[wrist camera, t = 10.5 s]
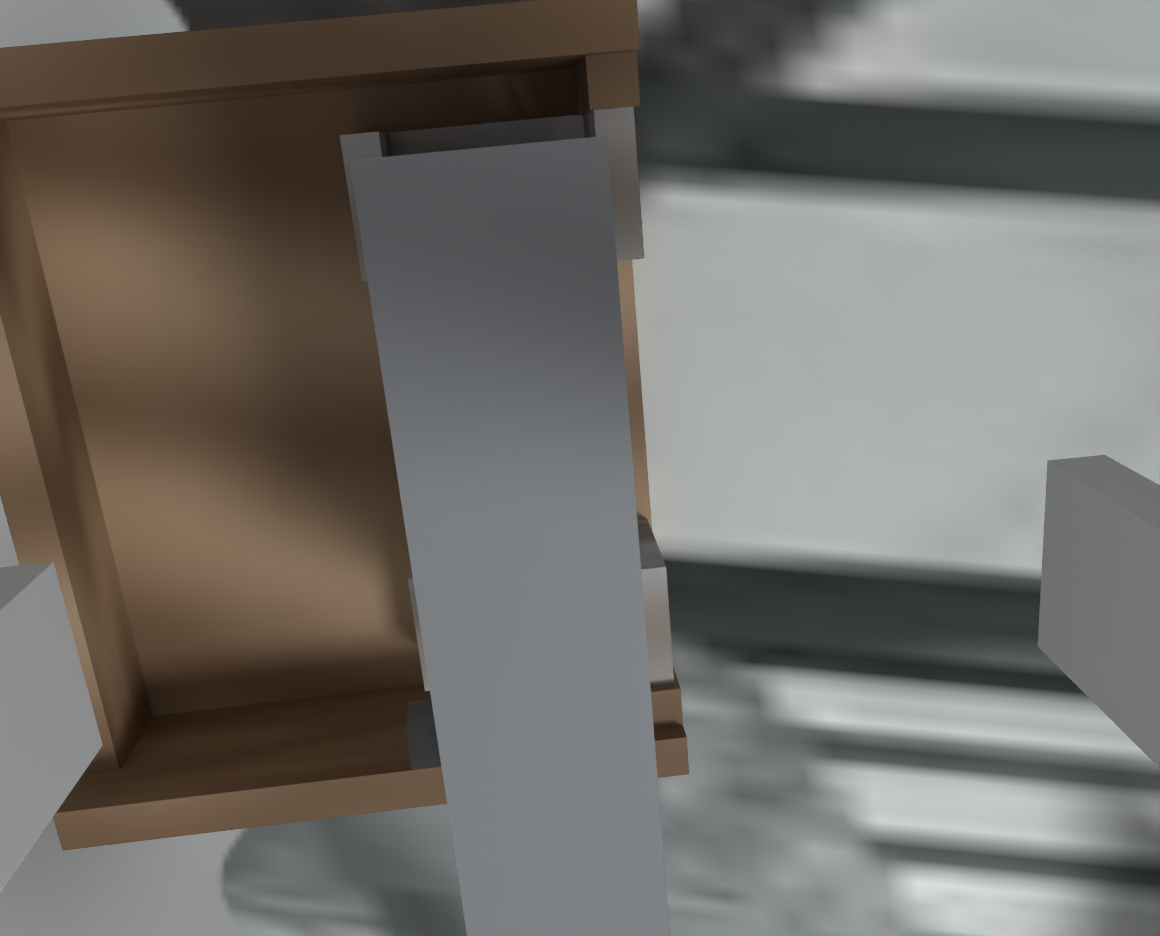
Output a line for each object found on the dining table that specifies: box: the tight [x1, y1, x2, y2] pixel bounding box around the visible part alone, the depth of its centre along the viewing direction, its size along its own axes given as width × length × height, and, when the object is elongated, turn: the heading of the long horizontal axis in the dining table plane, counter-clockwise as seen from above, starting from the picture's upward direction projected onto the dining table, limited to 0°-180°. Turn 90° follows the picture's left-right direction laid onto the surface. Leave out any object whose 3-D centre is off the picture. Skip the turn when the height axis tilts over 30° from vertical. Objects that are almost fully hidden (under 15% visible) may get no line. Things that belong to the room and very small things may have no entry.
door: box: [349, 136, 670, 936], centre depth 19 cm, size 12×4×12 cm, turn 5°
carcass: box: [0, 0, 689, 850], centre depth 24 cm, size 17×15×5 cm
